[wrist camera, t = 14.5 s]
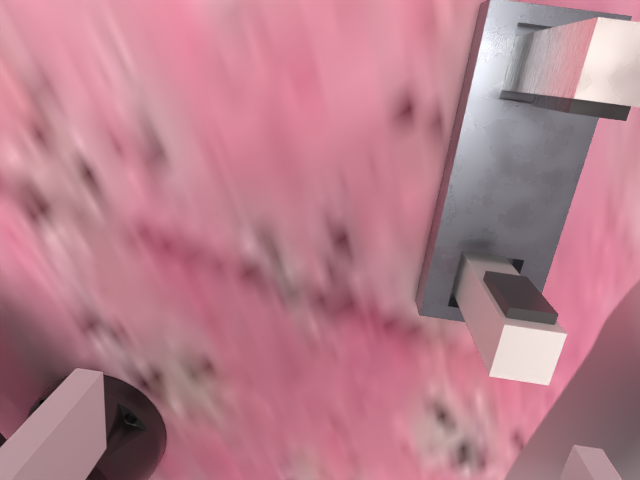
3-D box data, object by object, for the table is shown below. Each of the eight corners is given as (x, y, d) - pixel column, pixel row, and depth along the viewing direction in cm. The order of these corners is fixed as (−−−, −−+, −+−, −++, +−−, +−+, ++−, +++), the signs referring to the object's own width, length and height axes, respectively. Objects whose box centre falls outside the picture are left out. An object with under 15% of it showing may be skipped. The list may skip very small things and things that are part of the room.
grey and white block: (415, 300, 45) (439, 393, 32) (480, 4, 36) (550, -36, 23) (518, 315, 45) (585, 415, 32) (610, 20, 36) (756, -10, 23)
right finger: (494, 297, 43) (548, 385, 31) (452, 290, 43) (489, 376, 31) (508, 249, 42) (571, 323, 29) (464, 243, 42) (507, 313, 30)
